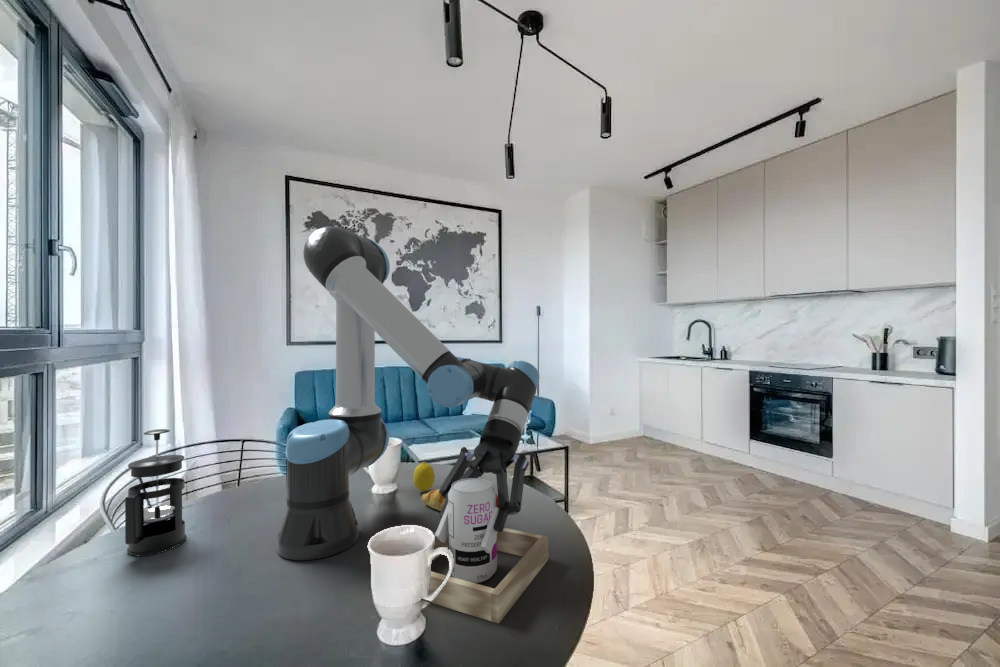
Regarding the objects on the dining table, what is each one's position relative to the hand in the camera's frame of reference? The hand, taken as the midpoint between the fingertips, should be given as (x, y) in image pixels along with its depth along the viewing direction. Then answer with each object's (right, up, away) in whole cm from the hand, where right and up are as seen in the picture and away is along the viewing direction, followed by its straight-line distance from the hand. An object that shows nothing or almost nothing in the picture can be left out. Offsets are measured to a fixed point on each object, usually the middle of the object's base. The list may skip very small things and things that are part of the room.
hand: (462, 544), depth 72 cm
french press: (-63, -8, +15) cm, 65 cm away
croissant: (-3, -7, +32) cm, 33 cm away
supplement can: (+2, -6, +3) cm, 7 cm away
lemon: (-14, -7, +43) cm, 46 cm away
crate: (+2, -6, +3) cm, 7 cm away
